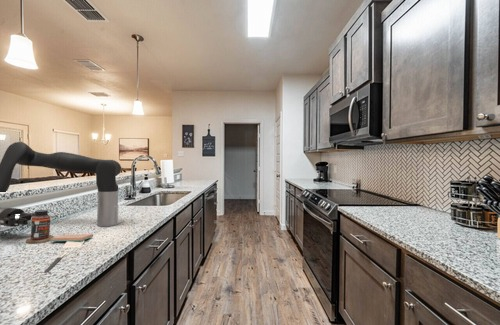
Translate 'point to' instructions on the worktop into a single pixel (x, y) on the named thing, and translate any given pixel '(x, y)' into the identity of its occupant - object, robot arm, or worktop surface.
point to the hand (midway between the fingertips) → (37, 219)
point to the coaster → (31, 241)
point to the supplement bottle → (40, 225)
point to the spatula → (67, 244)
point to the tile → (72, 237)
